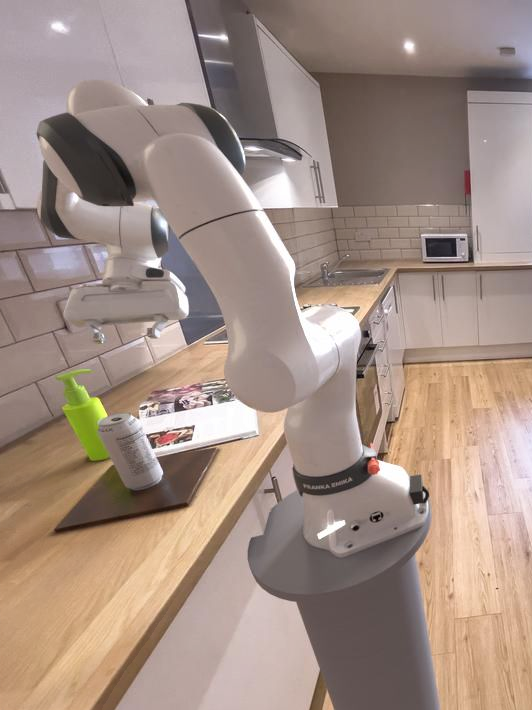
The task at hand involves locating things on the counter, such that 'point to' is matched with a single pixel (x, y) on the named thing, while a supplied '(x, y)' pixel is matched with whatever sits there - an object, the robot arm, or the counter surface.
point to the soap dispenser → (84, 415)
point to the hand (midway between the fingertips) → (125, 339)
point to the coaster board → (141, 491)
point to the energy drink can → (130, 450)
